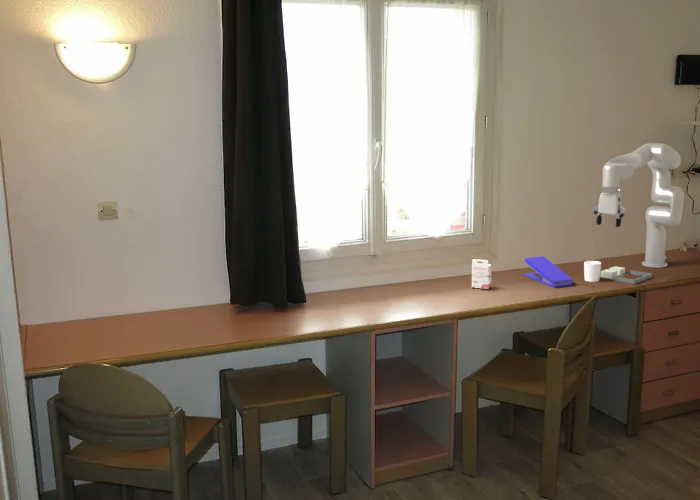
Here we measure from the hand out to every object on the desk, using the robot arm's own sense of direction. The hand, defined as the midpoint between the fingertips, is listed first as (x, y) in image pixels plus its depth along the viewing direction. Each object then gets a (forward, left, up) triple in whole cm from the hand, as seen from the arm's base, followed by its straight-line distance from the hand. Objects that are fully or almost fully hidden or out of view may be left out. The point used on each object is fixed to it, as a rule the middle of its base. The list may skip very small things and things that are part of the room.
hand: (608, 225), depth 351 cm
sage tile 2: (-11, 0, -26) cm, 28 cm away
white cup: (+8, -3, -28) cm, 29 cm away
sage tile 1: (-3, 0, -26) cm, 26 cm away
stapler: (+19, -21, -28) cm, 40 cm away
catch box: (-7, +10, -27) cm, 30 cm away
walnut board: (-7, -2, -27) cm, 28 cm away
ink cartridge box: (+52, -36, -28) cm, 69 cm away
